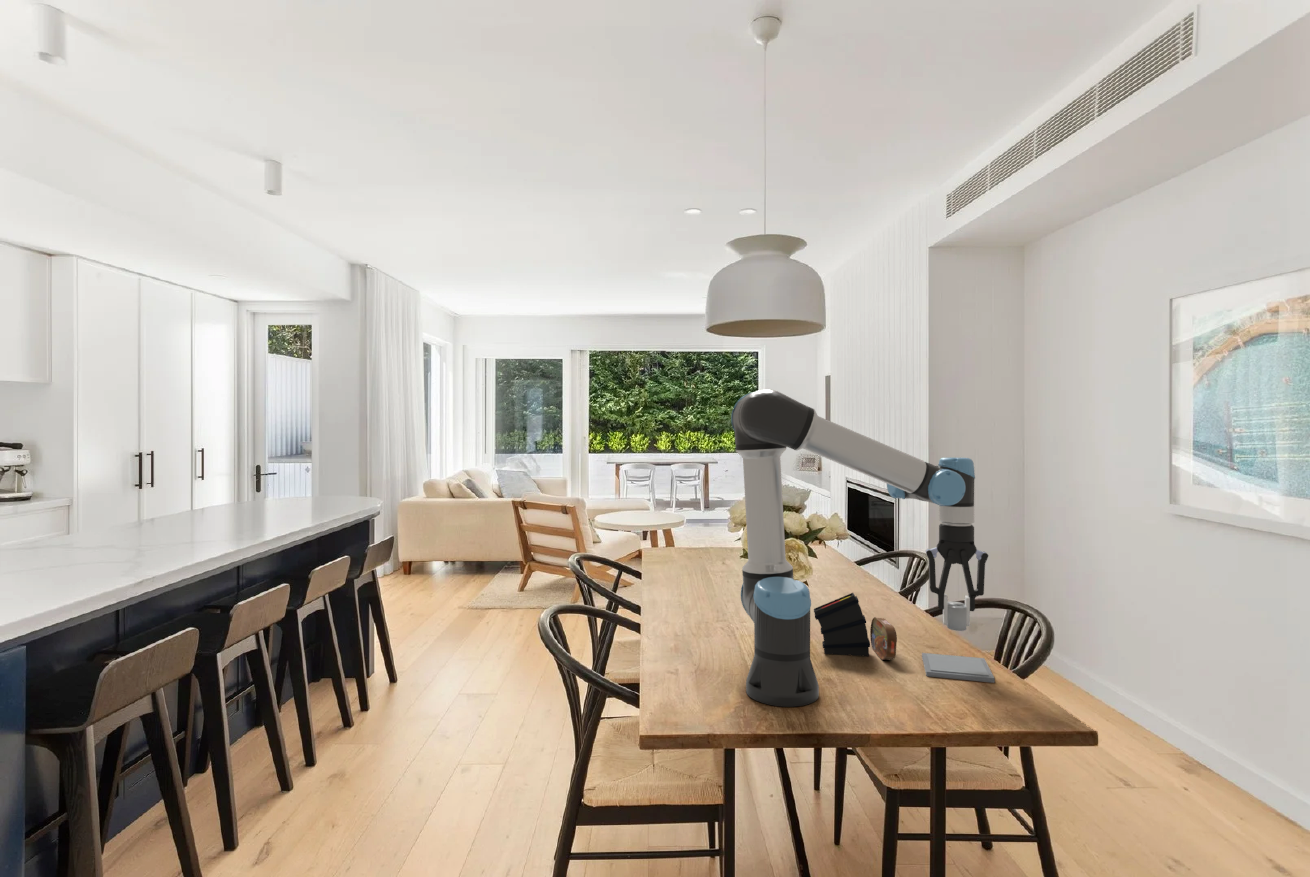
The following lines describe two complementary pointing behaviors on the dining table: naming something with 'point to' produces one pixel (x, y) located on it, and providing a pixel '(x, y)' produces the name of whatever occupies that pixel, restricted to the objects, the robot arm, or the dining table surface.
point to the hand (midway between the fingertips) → (956, 623)
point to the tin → (883, 638)
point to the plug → (957, 616)
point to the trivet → (957, 667)
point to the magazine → (843, 627)
